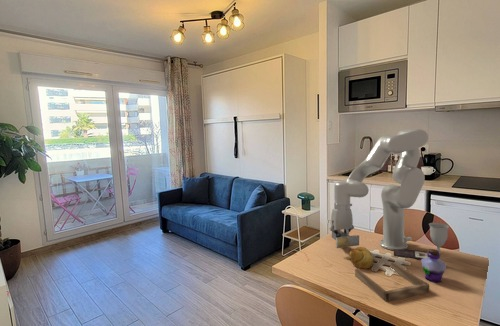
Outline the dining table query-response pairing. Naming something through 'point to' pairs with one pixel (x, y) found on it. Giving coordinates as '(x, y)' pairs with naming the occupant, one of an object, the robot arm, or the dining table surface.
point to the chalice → (438, 234)
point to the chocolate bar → (411, 254)
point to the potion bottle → (433, 266)
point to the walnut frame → (399, 293)
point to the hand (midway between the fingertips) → (341, 241)
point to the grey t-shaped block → (345, 240)
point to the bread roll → (361, 257)
